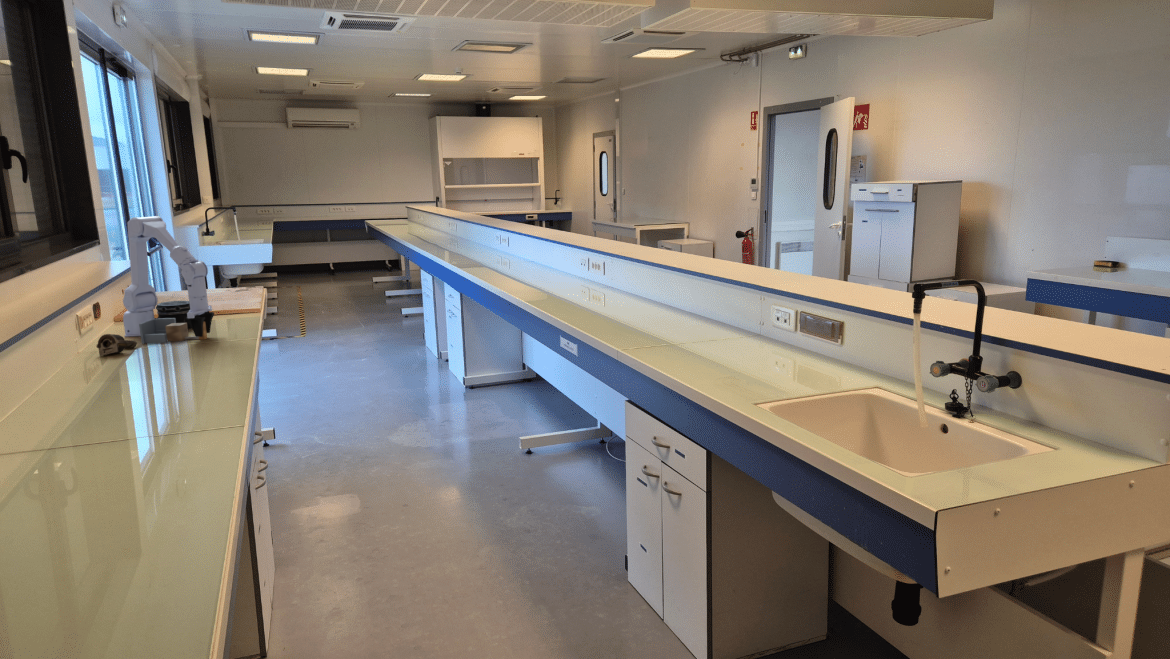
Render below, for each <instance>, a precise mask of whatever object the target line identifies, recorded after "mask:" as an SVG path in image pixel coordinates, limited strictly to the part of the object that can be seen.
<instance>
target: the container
mask: <svg viewBox="0 0 1170 659" xmlns="http://www.w3.org/2000/svg"><path fill="white" fill-rule="evenodd" d="M155 310H156V311H157V312H156V314H157V315H158V316H157V319H161V318H175V319H176V323H187V327H188V330H190V329H191V330H192V327H191V325H190V324H189V323H188V321H187V320H186V317H187V313H188V312H189V310H190V303H189V300H172V301H163V302H159V303H157V305H156V306H155Z"/></svg>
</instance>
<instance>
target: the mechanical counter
mask: <svg viewBox="0 0 1170 659" xmlns="http://www.w3.org/2000/svg"><path fill="white" fill-rule="evenodd" d="M137 345H138V343H137V341H135V340H129V339H128V340H127V339H125V338H124V337H123V336H122V335H120V334H114V333H105V334H102V335H101V336H100V337H99V338H98V341H97V344H96V346H95V347H96V348H97V349H98V353H99V354H98V355H99V356H105V355H113V354H114V355H115V354H120V353H122V352H124V350H126V349H127V350H128V349H129V350H130V349H131V350H132V349H134V348H136V346H137Z"/></svg>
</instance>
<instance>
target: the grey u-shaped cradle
mask: <svg viewBox="0 0 1170 659" xmlns="http://www.w3.org/2000/svg"><path fill="white" fill-rule="evenodd" d="M172 323H176V319H175V318H161V319H158V318H155V319H151V320H149V321H146V322H143V323H141V324H139V327H140V334H141V336H140V339H141V344H142V345H144V344H165V343H168V341H167V334H166V327H165V326H167V325H169V324H172Z"/></svg>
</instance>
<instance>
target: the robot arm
mask: <svg viewBox="0 0 1170 659" xmlns="http://www.w3.org/2000/svg"><path fill="white" fill-rule="evenodd" d="M126 223H127V239H128V246H129V247H128V248H129V263H130V278H131V282H130V285H129V286H128V287H126V288H125V289H124V291H123V292H124V296H123V299H122V304H123V307H124V308H125V309H126V311H125V312H124V313H123V317H122V321H123V327H124V335H123V336H124V337H125V338H126V337H141V334H140V327H139V324H141V323H143V322H146V321H149V320H151V319H156V318H155V312H154V310H156V306H157V304H158V302H159V301H158V296H157V294H156V288H155V287H154V286H152V285H150V281H149V278H150V277H149V262H148V241H149V240H150V239H151V238H153V239H154V238H155V239H156V240H157V241H158V242H159V243H160V244H161V245H162V246H164V247H165V249H166V250H168V251H169V257H170V259H172V260H173V262H174V263H175V265H177V266H178V267H179V268H180V269H181V271H180V274H181V276H182V278H183V279H184V283H185V285H186V286H187V287H186V288H187V296H188V301H189V303H190V310H189V312H188V313H187V317H186V320H187V321H188V323H189V324H190V325H191V327H192V328H191V330H192V332H193V334H194V335H195V336H196V337H202V336H203V322H205V324H206V332H207V334H210V332H211V327H212V326H211V325H212V322H213V318H214V316H215V312H214V311H213V307H212V305H209V301H208V300H209V299H208V293H207V287H206V286H207V285H206V277H207V275H208V273H209V269H208V266H207V264H206V263H205V262H204V261H202V260H199V259H196V258H195V257H194V256H193V254H192V253H191V252H190V250H188V248H187V247H185V246H182V245H179V244H178V243H177V241H176V240H175V238H174V237H173V236H172V235H171V234H170V232H169V231H168V230H167V224H166V222H165V221H164V220H163V219H162V217H161V216H158V215H154V216H142V217H141V216H140V217H137V216H136V217H135V216H133V217H131V218H130V219H129V220H128V221H127V222H126Z"/></svg>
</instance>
